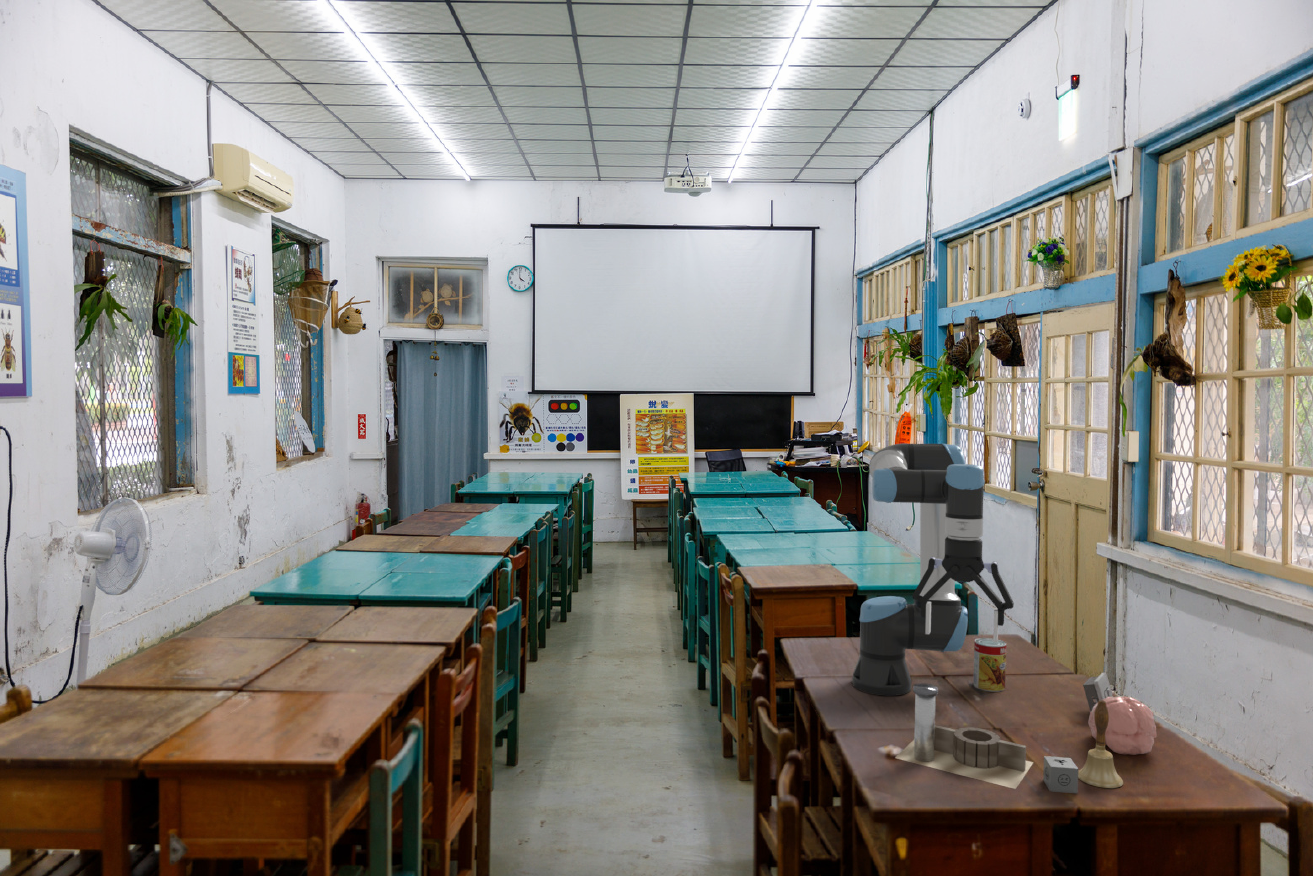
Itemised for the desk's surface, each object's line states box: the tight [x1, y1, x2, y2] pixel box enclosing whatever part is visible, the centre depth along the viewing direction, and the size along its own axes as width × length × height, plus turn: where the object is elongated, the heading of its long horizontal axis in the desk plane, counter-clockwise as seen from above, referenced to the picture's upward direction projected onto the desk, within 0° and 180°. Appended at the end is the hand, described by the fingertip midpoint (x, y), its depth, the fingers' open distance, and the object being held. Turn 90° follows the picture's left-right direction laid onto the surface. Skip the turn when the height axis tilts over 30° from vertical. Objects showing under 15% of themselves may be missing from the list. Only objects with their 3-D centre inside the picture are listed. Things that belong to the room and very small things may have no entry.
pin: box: [912, 683, 939, 762], centre depth 180 cm, size 5×5×15 cm
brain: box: [1088, 695, 1158, 756], centre depth 190 cm, size 16×13×12 cm
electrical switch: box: [1082, 672, 1114, 713], centre depth 210 cm, size 9×5×9 cm, turn 141°
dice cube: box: [1042, 755, 1079, 794], centre depth 171 cm, size 5×5×5 cm
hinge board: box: [894, 724, 1034, 790], centre depth 180 cm, size 24×15×6 cm, turn 54°
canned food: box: [972, 637, 1007, 693], centre depth 229 cm, size 8×8×12 cm
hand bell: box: [1078, 700, 1124, 789], centre depth 174 cm, size 8×8×16 cm
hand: (961, 636), depth 184 cm, fingers open, 13 cm apart
